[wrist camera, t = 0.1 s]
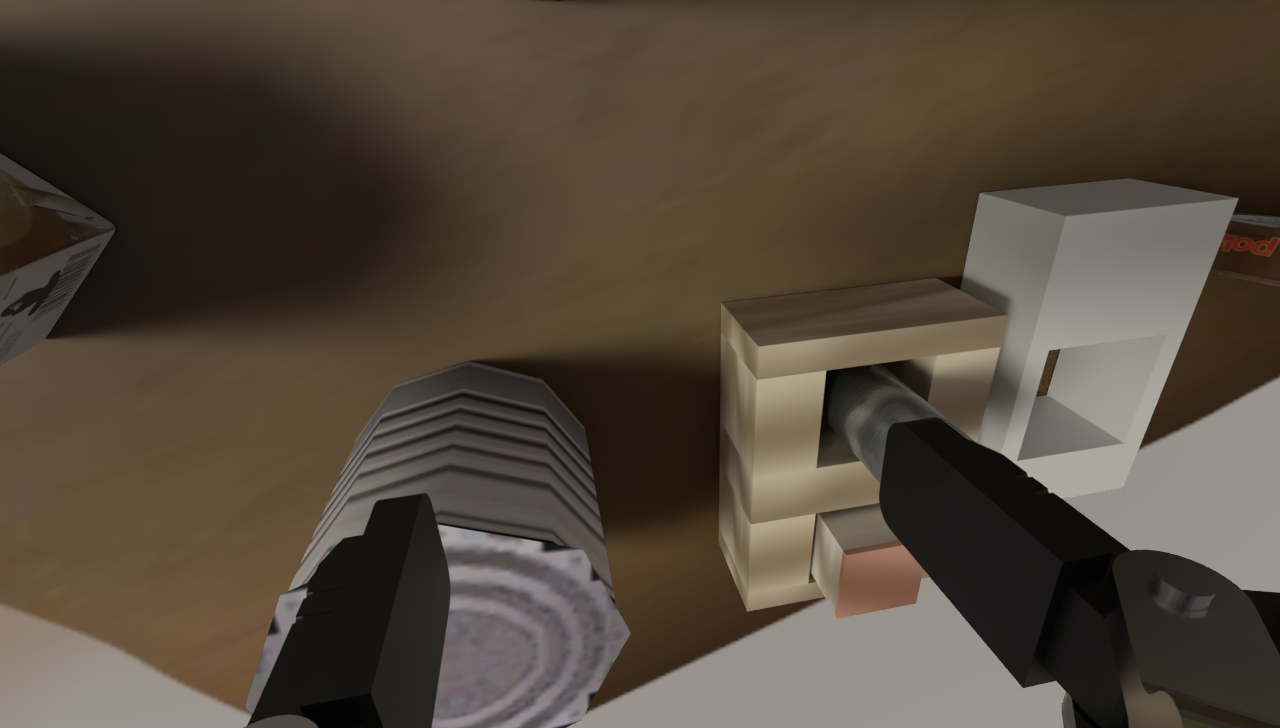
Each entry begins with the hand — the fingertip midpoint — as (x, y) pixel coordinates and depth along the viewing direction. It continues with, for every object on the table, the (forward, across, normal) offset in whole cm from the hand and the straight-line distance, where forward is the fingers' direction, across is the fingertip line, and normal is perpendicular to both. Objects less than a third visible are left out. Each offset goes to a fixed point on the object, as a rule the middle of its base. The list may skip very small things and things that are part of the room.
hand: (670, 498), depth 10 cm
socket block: (+18, -12, +10) cm, 24 cm away
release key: (+15, -12, +15) cm, 24 cm away
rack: (+18, -23, +6) cm, 29 cm away
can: (+18, +6, +10) cm, 21 cm away
